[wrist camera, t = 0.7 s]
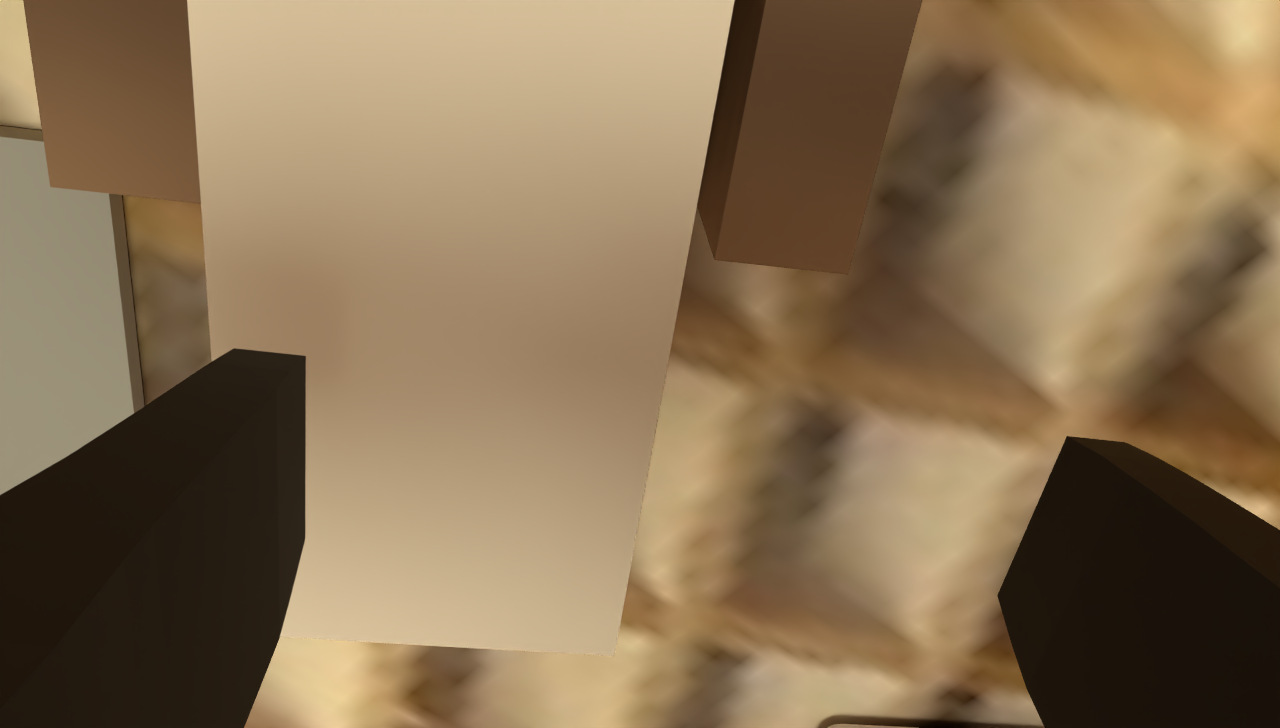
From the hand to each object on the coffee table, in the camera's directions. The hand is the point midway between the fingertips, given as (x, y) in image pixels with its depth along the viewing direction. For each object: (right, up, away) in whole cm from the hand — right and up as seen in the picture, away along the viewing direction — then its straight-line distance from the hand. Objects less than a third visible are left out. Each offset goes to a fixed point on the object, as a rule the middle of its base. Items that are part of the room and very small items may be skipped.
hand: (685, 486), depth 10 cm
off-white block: (-3, +5, +7) cm, 10 cm away
